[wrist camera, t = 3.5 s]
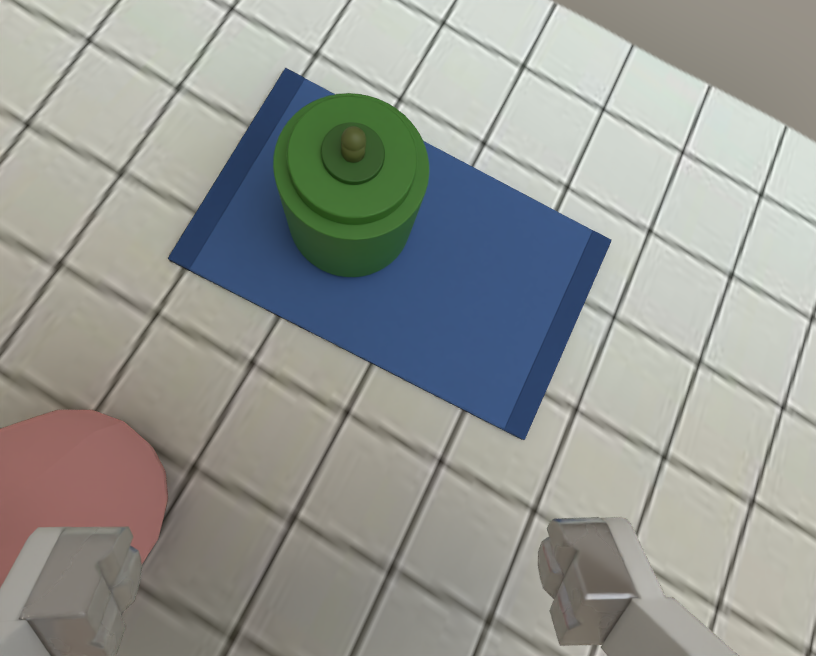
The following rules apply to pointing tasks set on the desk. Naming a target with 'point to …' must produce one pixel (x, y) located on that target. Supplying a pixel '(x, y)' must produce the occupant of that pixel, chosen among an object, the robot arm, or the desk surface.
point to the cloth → (410, 275)
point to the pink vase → (77, 480)
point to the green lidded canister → (350, 182)
